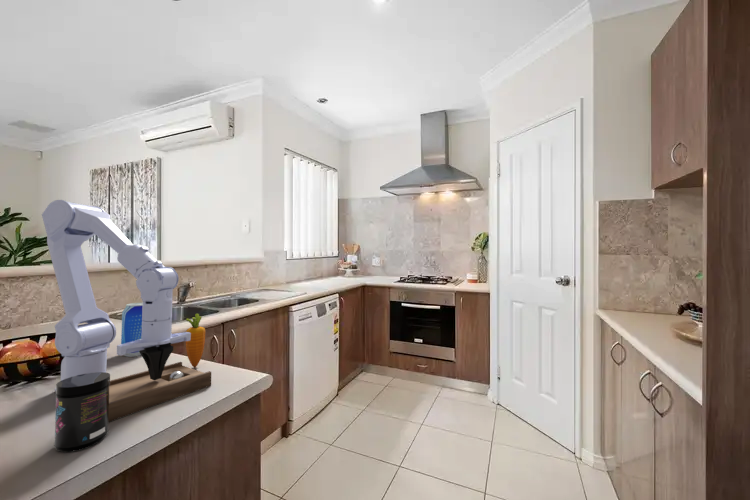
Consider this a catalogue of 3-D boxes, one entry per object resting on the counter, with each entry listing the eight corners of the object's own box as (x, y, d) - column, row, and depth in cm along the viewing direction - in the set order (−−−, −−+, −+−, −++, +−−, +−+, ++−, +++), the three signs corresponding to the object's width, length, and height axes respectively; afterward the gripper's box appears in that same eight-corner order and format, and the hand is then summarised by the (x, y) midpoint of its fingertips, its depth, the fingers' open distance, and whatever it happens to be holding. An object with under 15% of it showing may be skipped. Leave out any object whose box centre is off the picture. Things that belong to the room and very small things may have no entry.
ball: (165, 386, 75) (166, 372, 76) (178, 384, 78) (179, 370, 79) (174, 385, 74) (175, 371, 75) (186, 383, 77) (187, 370, 78)
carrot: (195, 371, 86) (196, 316, 86) (180, 369, 87) (181, 315, 87) (208, 365, 91) (209, 313, 91) (194, 363, 92) (195, 312, 92)
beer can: (147, 348, 107) (148, 301, 108) (157, 352, 102) (158, 303, 103) (117, 354, 100) (118, 304, 101) (126, 359, 96) (127, 306, 96)
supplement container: (83, 430, 56) (85, 371, 57) (118, 431, 56) (120, 372, 56) (41, 453, 50) (43, 386, 50) (81, 455, 49) (83, 388, 49)
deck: (75, 405, 65) (75, 389, 65) (180, 374, 83) (180, 361, 83) (102, 424, 58) (102, 406, 58) (211, 385, 76) (211, 371, 76)
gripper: (128, 327, 64) (126, 393, 64) (198, 316, 77) (196, 372, 76) (113, 323, 68) (111, 386, 67) (182, 313, 80) (181, 366, 80)
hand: (155, 378), depth 72 cm, fingers closed
